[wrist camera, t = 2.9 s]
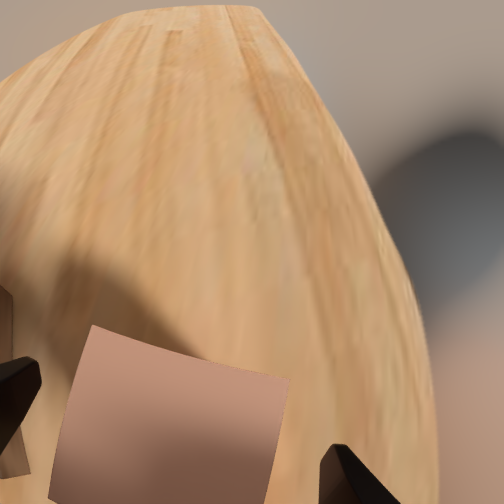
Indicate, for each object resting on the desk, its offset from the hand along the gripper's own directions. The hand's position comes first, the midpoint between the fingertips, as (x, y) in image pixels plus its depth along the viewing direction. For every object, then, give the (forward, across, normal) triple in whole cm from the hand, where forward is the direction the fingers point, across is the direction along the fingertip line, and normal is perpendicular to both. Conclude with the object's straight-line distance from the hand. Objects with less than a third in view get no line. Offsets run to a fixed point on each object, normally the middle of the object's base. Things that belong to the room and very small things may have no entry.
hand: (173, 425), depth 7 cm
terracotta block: (+5, 0, +6) cm, 7 cm away
